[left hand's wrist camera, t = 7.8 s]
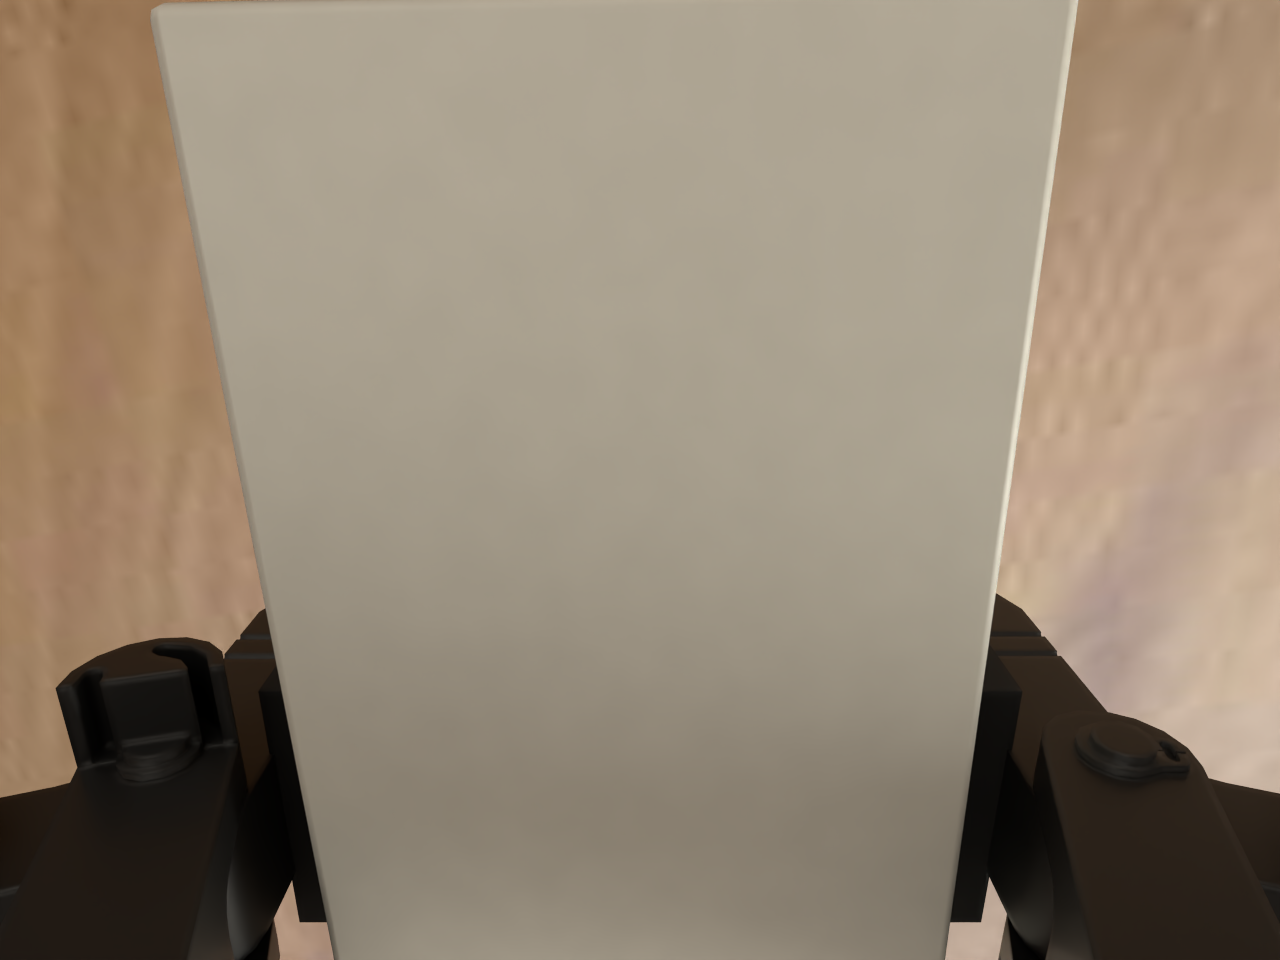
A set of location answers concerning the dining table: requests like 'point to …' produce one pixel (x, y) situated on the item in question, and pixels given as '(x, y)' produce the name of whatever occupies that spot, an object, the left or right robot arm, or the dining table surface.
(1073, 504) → the dining table surface
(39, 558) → the dining table surface
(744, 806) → the beam
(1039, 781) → the left robot arm
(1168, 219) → the dining table surface
